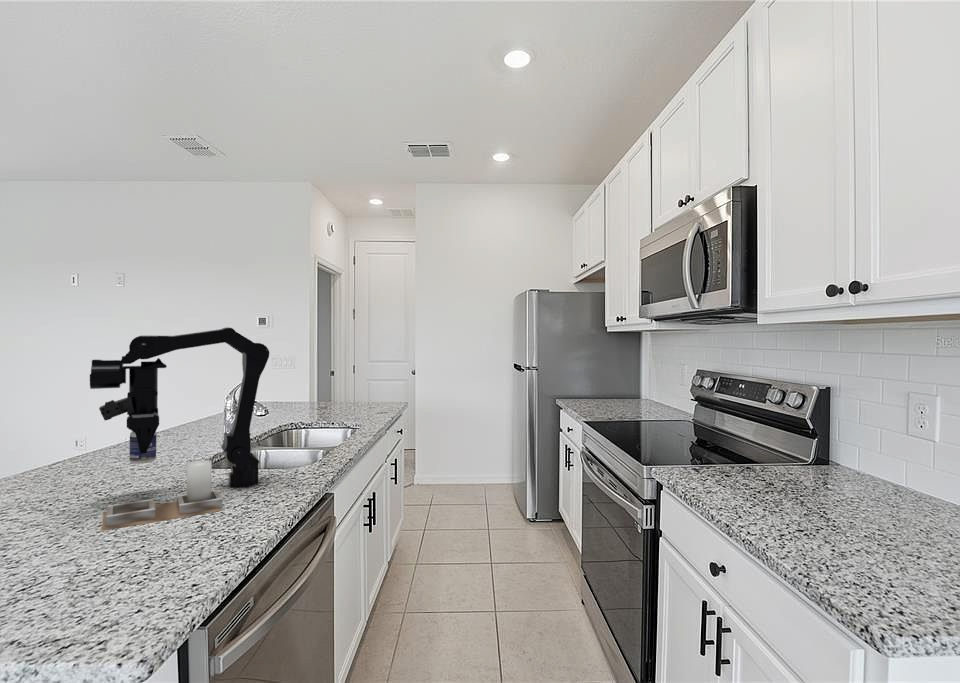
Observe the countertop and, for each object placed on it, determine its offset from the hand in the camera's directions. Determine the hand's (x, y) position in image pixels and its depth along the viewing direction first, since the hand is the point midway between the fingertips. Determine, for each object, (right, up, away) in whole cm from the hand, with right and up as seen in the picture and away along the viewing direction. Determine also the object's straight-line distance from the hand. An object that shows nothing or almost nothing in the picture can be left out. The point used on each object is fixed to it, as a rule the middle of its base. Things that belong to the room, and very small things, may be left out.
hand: (143, 451), depth 121 cm
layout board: (+11, -13, -9) cm, 19 cm away
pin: (+16, -12, -5) cm, 21 cm away
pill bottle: (0, -3, 0) cm, 3 cm away
